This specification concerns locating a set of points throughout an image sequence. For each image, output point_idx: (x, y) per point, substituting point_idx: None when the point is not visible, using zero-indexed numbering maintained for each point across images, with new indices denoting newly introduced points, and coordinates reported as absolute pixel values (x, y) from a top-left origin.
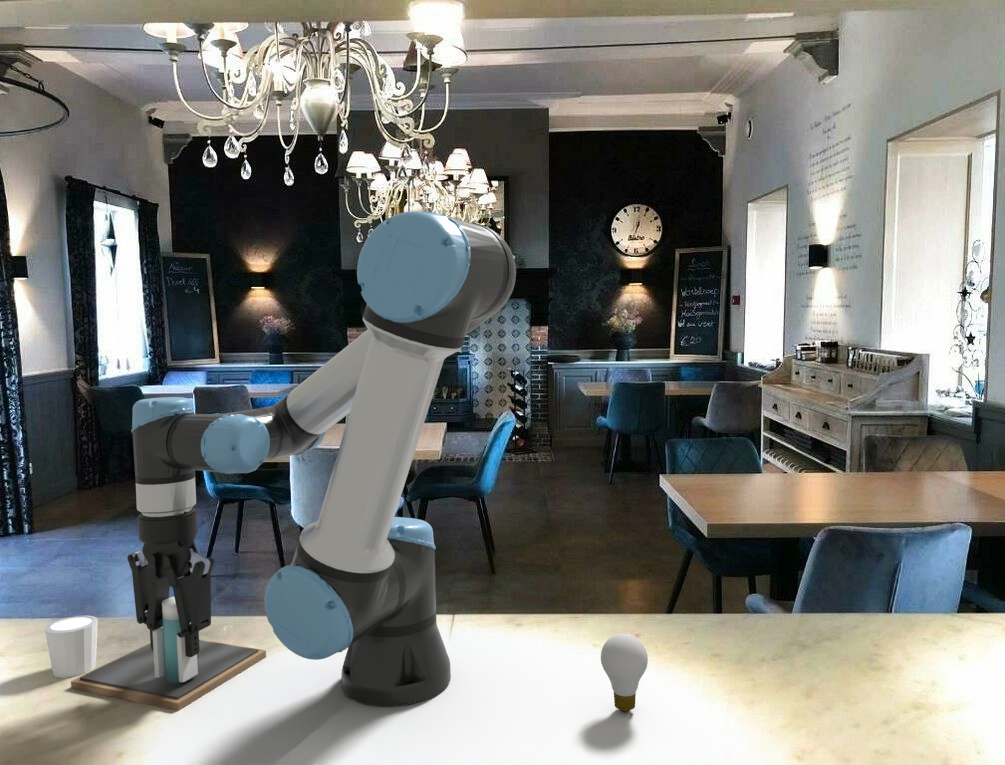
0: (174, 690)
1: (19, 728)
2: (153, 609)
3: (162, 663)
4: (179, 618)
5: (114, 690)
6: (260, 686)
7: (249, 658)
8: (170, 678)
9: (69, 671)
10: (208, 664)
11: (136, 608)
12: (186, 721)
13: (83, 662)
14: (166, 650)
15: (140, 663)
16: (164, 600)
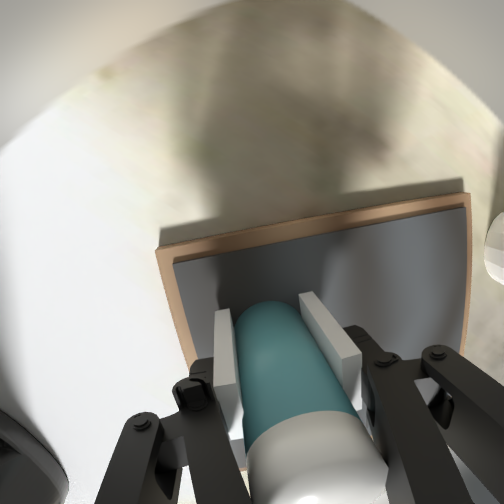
0: (215, 282)
1: (391, 42)
2: (394, 413)
3: (308, 320)
4: (221, 438)
5: (364, 210)
6: (118, 395)
7: None
8: (264, 306)
9: (499, 222)
10: None
11: (475, 370)
12: (100, 226)
13: (498, 247)
14: (290, 340)
15: (414, 317)
16: (383, 471)
